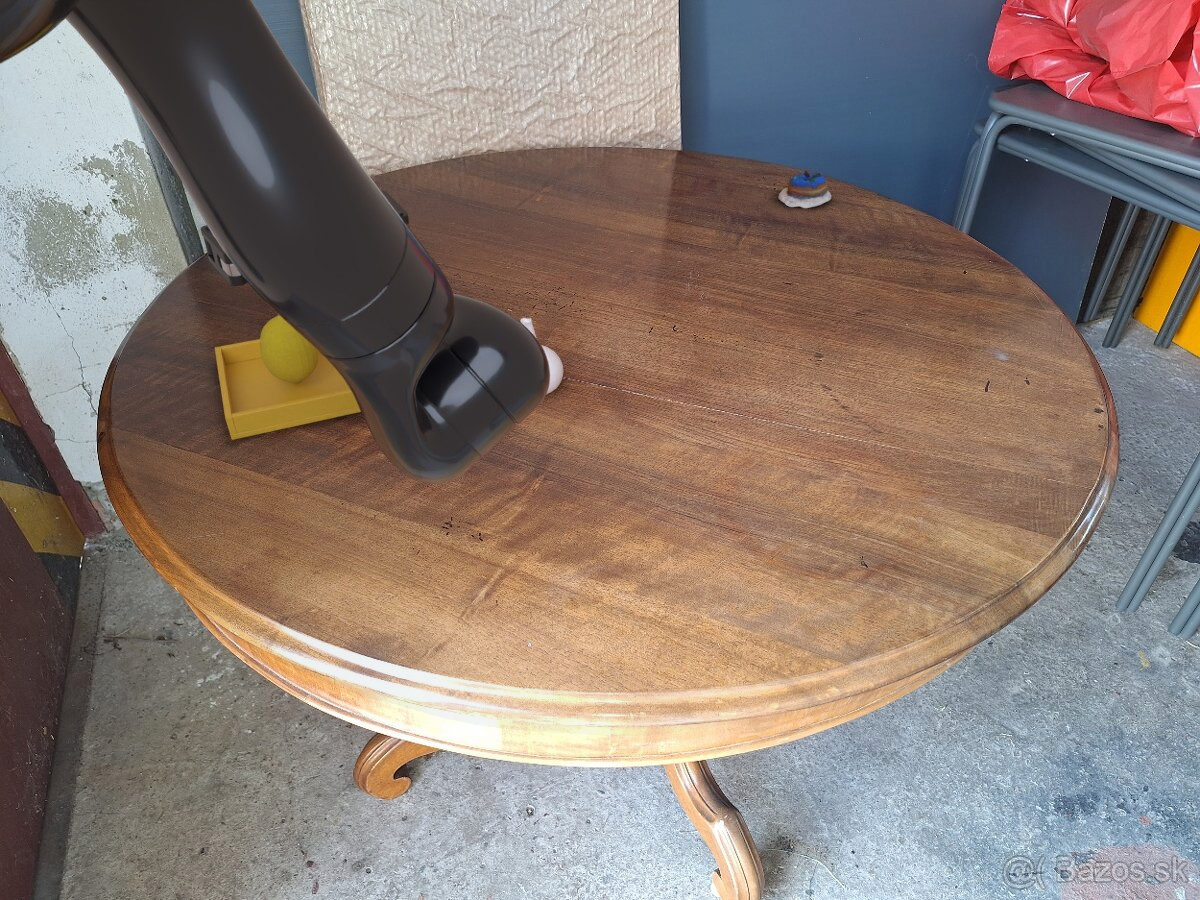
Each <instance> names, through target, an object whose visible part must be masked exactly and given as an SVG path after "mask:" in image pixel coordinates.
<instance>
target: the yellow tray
mask: <svg viewBox="0 0 1200 900" xmlns="http://www.w3.org/2000/svg"><path fill="white" fill-rule="evenodd" d="M214 353H215V360H216V367H217V372H218V380H219V385H220V386H219V387H220V393H221V400H222V405H223V406H222V407H223V412H224V419H225V422H226V425H227V428H228V433H229V436H230V438H231V440H232V441H233V440H238V439H242V438H243V439H244V438H247V437H248V438H249V437H252V436H257V435H261V434H266V433H270V432H276V431H279V430H284V429H289V428H293V427H298V426H303V425H307V424H312V423H317V422H321V421H324V420H330V419H334V418H339V417H343V416H348V415H352V414H358V413H361V411H360V408H359V406H358V404H357V402H356V399H355V398H354V396H353V394H352V392H351V390H350V389H349V387H348V385H347V384H346V382H345V381H344V379H343V378H342V377H341V375H340V374H339V373H338V371H337V370H336V369H335V368H334V367H333V366H332V365H331V363H330V362H329V361H328V360H327V359H326V358H325V357H324V356H323V355H322V354H321V353H320V352H319V351H318V363H317V366H316V368H315V370H314V371H313V373H312V374H311V375H310V376H308V377H307V378H305V379H304V380H302V381H301V382H300V383H298V384H295V383H293V382H286V381H283V380H280V379H278V378H276V377H275V376H273V375H272V374H271V373H270V372H269V370H268V369H267V367H266V366H265V364H264V362H263V359H262V356H261V350H260V338H259V339H252V340H247V341H242V342H237V343H232V344H226V345H221V346H215V347H214Z"/></svg>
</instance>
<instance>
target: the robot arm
mask: <svg viewBox="0 0 1200 900" xmlns="http://www.w3.org/2000/svg"><path fill="white" fill-rule="evenodd" d="M65 20H66V21H67V23H69V24H70V26H71V27H72V28H74V30H75V31H76V32H77V33H78V34H79V36H81V38H82V39H83V40H84V41H85V42H86V44H87V45H88V46H89V47H90V48H91V49H92V51H94V53H95V55H97V56H98V58H99V59H100V60H101V61H102V63H103V65H104V66H106V68H107V69H108V70H109V72H110V73H111V74H112V76H113V77H114V79H115V80H116V81H117V83H118V84H119V85H120V87H121V88H122V89H123V91H124V92H125V94H126V95H127V97H128V98H129V99H130V101H131V102H132V103H133V105H134V106H135V108H136V109H137V110H138V112H139V114H140V116H141V117H142V118H143V120H144V121H145V123H146V125H147V126H148V128H149V130H150V131H151V133H152V134H153V136H154V137H155V139H156V141H157V142H158V144H159V145H160V147H161V148H162V150H163V151H164V153H165V155H166V157H167V159H168V160H169V162H170V164H171V165H172V167H173V169H174V170H175V172H176V174H177V175H178V177H179V179H180V181H181V182H182V184H183V186H184V188H185V190H186V191H187V193H188V195H189V196H190V198H191V200H192V202H193V203H194V205H195V208H196V209H197V210H198V212H199V214H200V216H201V217H202V219H203V221H204V223H205V225H203V226H201V227H200V229H199V230H200V233H201V235H202V238H203V242H204V245H205V249H206V255H207V259H208V261H209V262H210V264H211V265H212V266H213V267H214V268H215V269H216V270H217V271H218V273H219V274H220V275H221V276H222V277H223V278H224V280H226V282H227V283H228V284H229V285H230V286H232V287H240V286H244V285H246V284H248V285H249V286H250V287H251V289H252V290H253V291H254V292H255V293H256V294H257V295H258V296H259V297H260V298H261V299H262V301H264V303H265V304H266V305H268V306H269V307H270V308H271V310H272V311H274V312H275V313H276V314H277V315H280V316H281V317H282V318H283V319H284V320H285V321H286V322H287V323H288V324H289V325H291V326H292V327H293V328H294V329H295V330H296V331H297V332H298V333H299V334H300V335H301V336H302V337H304V338H305V339H306V340H307V341H308V342H309V343H310V344H311V345H312V346H313V347H314V348H315V349H317V350H318V351H319V352H320V353H321V354H322V355H323V356H324V357H325V358H326V359H327V360H328V361H329V362H330V363H331V365H332V366H333V367H334V368H335V369H336V370H337V371H338V373H339V374H340V375H341V377H342V378H343V379H344V381H345V382H346V384H347V385H348V387H349V389H350V390H351V392H352V394H353V396H354V398H355V399H356V402H357V404H358V406H359V408H360V411H361V412H360V413H361V415H362V418H363V419H364V422H365V424H366V426H367V428H368V430H369V432H370V434H371V436H372V437H373V439H374V441H375V442H376V445H377V446H378V447H379V449H380V451H381V452H382V454H383V455H384V456H385V458H386V459H387V460H388V461H389V463H391V465H392V466H394V467H395V468H396V469H397V470H398V471H399V472H400V473H401V474H403V475H404V476H406V477H407V478H410V479H412V480H414V481H417V482H420V483H424V484H433V485H434V484H435V485H436V484H445V483H450V482H452V481H454V480H457V479H458V478H460V477H462V476H463V475H464V474H466V473H467V472H468V471H470V469H472V468H473V467H474V466H475V465H476V464H477V463H478V462H479V461H480V460H482V459H483V457H484V456H486V455H487V454H488V453H489V452H490V451H492V450H493V448H495V446H497V445H498V444H499V443H500V442H501V441H503V439H504V438H506V436H508V435H509V434H510V433H511V432H512V431H513V430H514V429H516V427H517V425H519V424H521V423H522V422H523V421H525V419H526V418H528V417H529V416H530V415H531V414H532V413H533V412H534V411H535V410H536V409H537V408H538V407H539V406H540V404H542V403H543V401H544V399H545V398H546V396H547V395H548V394H547V391H548V388H549V383H550V369H549V363H548V359H547V356H546V354H545V352H544V349H543V348H542V346H541V345H542V344H541V343H540V341H539V340H538V338H537V336H536V337H535V336H534V335H533V334H532V333H531V332H530V331H529V330H528V328H526V327H525V326H524V325H523V324H522V323H521V322H520V320H518V319H517V318H516V317H514V316H512V315H511V314H509V313H508V312H506V311H504V310H502V309H500V308H499V307H497V306H494V305H493V304H490V303H487V302H484V301H482V300H479V299H477V298H473V297H470V296H467V295H463V294H459V293H456V292H454V291H453V287H452V286H451V284H450V282H449V280H448V278H447V276H446V275H445V272H443V270H442V269H441V268H440V266H439V265H438V263H437V262H436V261H435V260H434V258H433V257H432V256H431V255H430V253H429V252H428V251H427V250H426V248H425V247H424V245H423V244H422V243H421V242H420V240H419V239H418V237H417V236H416V235H415V234H414V232H413V230H411V229H410V221H409V213H408V212H407V210H405V209H404V207H402V205H400V203H398V202H397V201H396V199H394V198H393V197H392V195H390V194H389V192H388V191H386V190H381V189H380V188H379V187H378V185H377V184H376V182H375V181H374V180H373V179H372V177H371V176H370V175H369V174H368V172H367V171H366V169H365V168H364V167H363V165H362V164H361V163H360V161H359V160H358V158H357V157H356V156H355V154H354V153H353V151H352V150H351V149H350V148H349V146H348V145H347V143H346V142H345V140H344V138H342V136H341V135H340V134H339V132H338V131H337V129H336V128H335V126H334V125H333V124H332V122H331V121H330V119H329V118H328V116H327V115H326V113H325V111H323V109H322V107H321V106H320V104H319V103H318V102H317V100H316V98H315V97H314V96H313V94H312V92H311V91H310V89H309V88H308V86H307V85H306V83H305V82H304V80H303V79H302V77H301V76H300V74H299V73H298V72H297V70H296V68H295V67H294V65H293V64H292V63H291V61H290V59H289V58H288V56H287V55H286V53H285V51H284V50H283V48H282V47H281V45H280V43H279V42H278V40H277V39H276V37H275V35H274V34H273V32H272V31H271V29H270V27H269V25H268V24H267V23H266V21H265V19H264V17H263V16H262V14H261V13H260V11H259V10H258V8H257V6H256V4H255V3H254V1H253V0H0V65H2V64H4V63H5V62H7V61H9V60H11V59H13V58H14V57H16V56H18V55H19V54H21V53H22V52H24V51H25V50H27V49H28V48H30V47H32V46H33V45H35V44H37V43H38V42H40V40H42V39H43V38H45V37H46V36H48V35H49V34H50V33H51V32H52V31H54V30H55V29H56V28H57V27H58V26H59V25H60V24H61V23H62V22H64V21H65ZM536 338H537V339H536Z"/></svg>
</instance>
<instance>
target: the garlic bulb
mask: <svg viewBox="0 0 1200 900" xmlns="http://www.w3.org/2000/svg"><path fill="white" fill-rule="evenodd" d="M532 319H533V318H531V317H529V318H526V317H522V318H520V320H519V322H520V323H522V324H523V325H524V326H525V327H526V328H528V330H529V331H530V332H531V333H532V334H533V335H534V336H535V337H536V339H537V340H538V338H537V335H536V331H535V328H534V325H533V320H532ZM541 346H542V348H543V349H544V352H545V354H546V356H547V359H548V363H549V369H550V383H549V388H548V391H547V394H546V395H548V394H550V393H552V392H554V391H555V390H556V389H557V388H558V387H559V386H560V384H561V382H562V380H563V378H564V366H563V362H562V360H561V358H560V357H559V355H558V354H557V352H555V351H554V350H552V348H550V347H548V346H546V345H542V344H541Z"/></svg>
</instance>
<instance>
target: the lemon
mask: <svg viewBox="0 0 1200 900" xmlns="http://www.w3.org/2000/svg"><path fill="white" fill-rule="evenodd" d="M259 339H260V350H261V356H262V359H263V362H264V364H265V366H266V367H267V369H268V370H269V372H270V373H271V374H272V375H273V376H275V377H276V378H278V379H280V380H283V381H286V382H293V383H295V384H298V383H300V382H301V381H302V380H304V379H305V378H307V377H308V376H310V375H311V374H312V373H313V371H314V370H315V368H316V366H317V363H318V350H317V349H315V348H314V347H313V346H312V345H311V344H310V343H309V342H308V341H307V340H306V339H305V338H304V337H302V336H301V335H300V334H299V333H298V332H297V331H296V330H295V329H294V328H293V327H292V326H291V325H289V324H288V323H287V322H286V321H285V320H284V319H283V318H282V317H281V316H280V315H279V314H277V315H276V316H274V317H273V318H271V319H270V320H268V321H267V322H266V324H264V326H263V328H262V330H261V331H260V336H259Z"/></svg>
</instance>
